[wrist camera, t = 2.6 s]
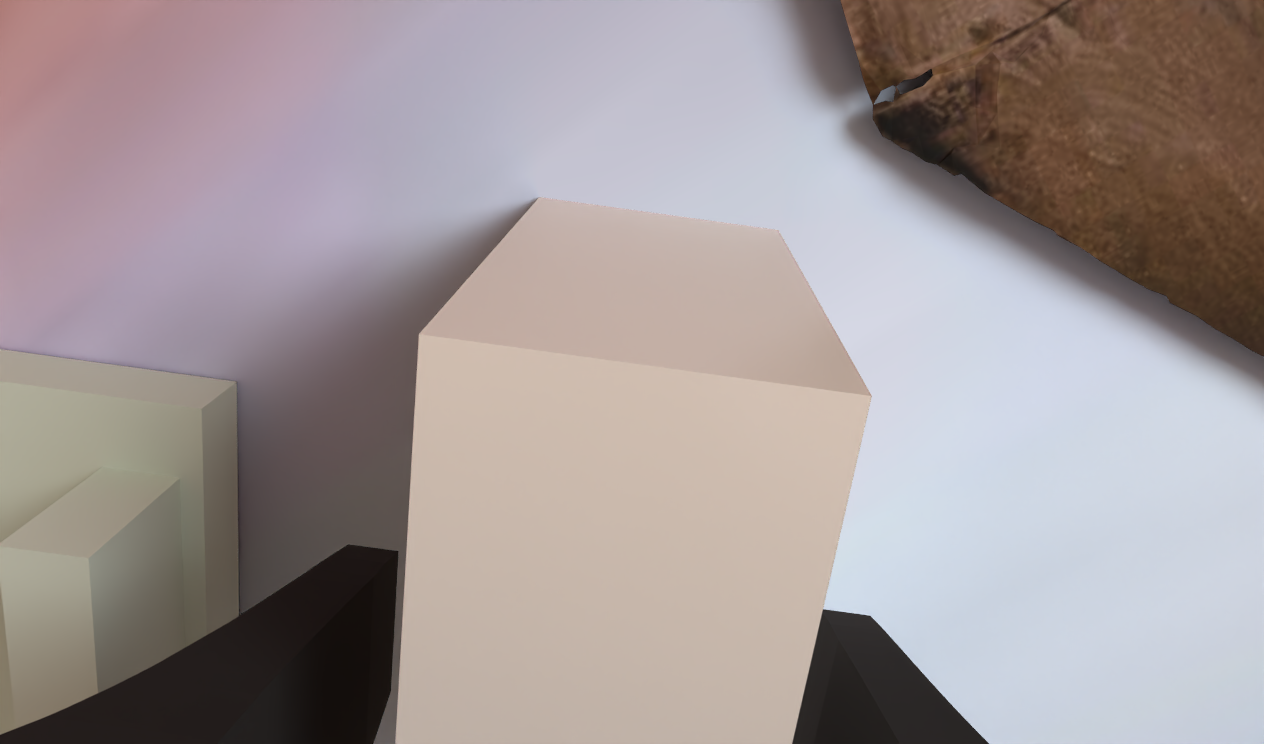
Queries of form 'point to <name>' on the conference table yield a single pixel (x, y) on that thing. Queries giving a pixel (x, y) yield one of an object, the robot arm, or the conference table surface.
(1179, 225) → the wooden fragment
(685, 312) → the beige rectangular block
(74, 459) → the rack
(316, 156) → the conference table surface
